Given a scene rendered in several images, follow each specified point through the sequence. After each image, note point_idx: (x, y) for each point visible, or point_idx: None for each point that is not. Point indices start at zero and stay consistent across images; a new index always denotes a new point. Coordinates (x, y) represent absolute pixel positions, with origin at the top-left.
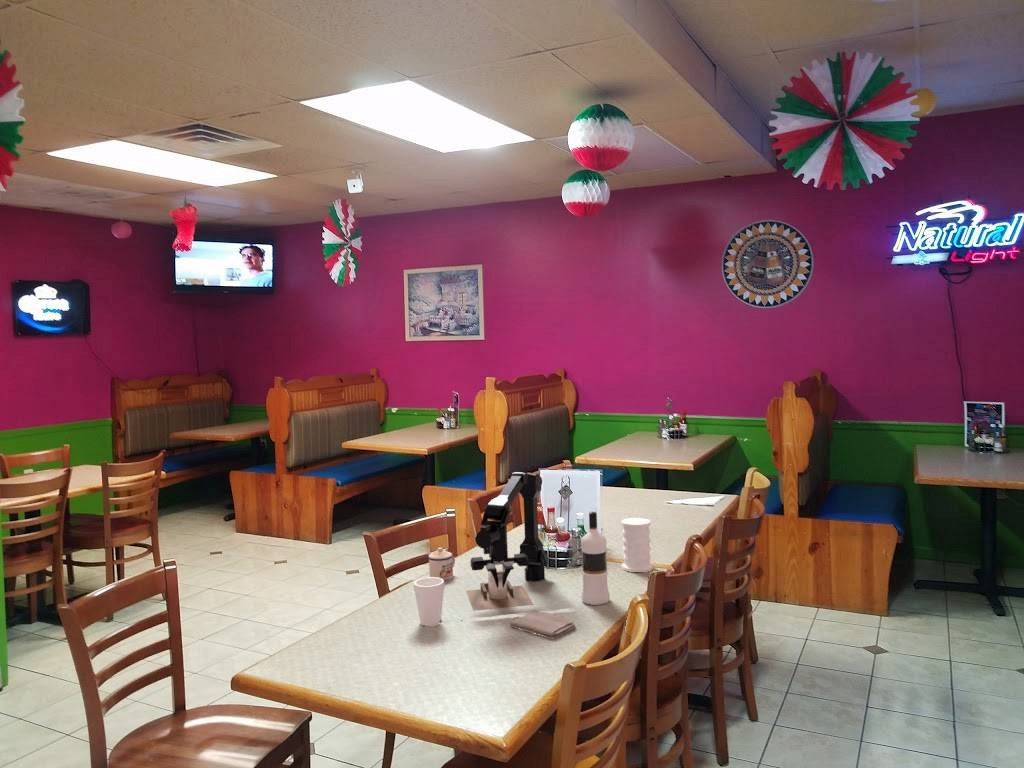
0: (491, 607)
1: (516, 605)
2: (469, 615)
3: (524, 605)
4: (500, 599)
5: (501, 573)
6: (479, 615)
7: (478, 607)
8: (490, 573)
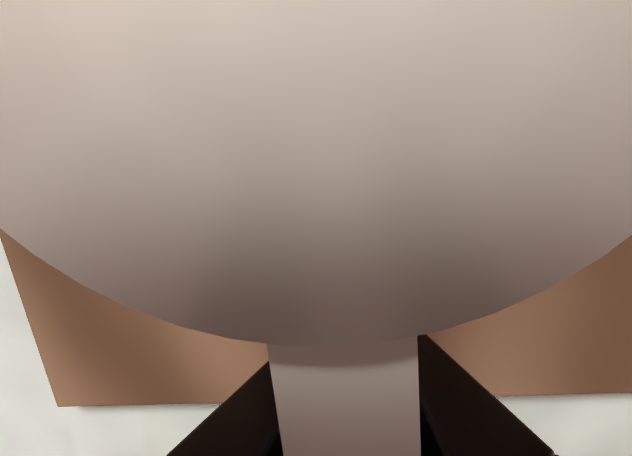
0: (242, 373)
1: (532, 376)
2: (46, 416)
3: (625, 392)
4: None
5: (458, 304)
6: (138, 435)
7: (101, 343)
8: (10, 202)
